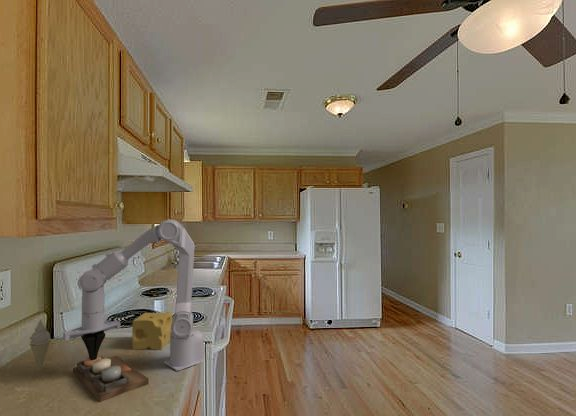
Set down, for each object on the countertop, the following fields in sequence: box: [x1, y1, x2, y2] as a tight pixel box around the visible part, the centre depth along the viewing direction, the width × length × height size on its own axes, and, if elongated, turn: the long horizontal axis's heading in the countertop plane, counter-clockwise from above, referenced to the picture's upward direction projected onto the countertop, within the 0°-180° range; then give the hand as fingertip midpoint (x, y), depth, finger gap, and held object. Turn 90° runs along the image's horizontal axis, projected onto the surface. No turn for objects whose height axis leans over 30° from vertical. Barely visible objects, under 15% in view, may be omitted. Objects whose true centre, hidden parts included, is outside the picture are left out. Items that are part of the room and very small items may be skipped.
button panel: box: [72, 355, 149, 402], centre depth 98 cm, size 12×22×3 cm, turn 46°
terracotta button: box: [83, 355, 103, 368], centre depth 101 cm, size 4×4×2 cm
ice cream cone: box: [29, 318, 52, 372], centre depth 103 cm, size 5×5×15 cm
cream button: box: [92, 358, 111, 373], centre depth 97 cm, size 4×4×2 cm
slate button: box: [102, 366, 121, 381], centre depth 92 cm, size 4×4×2 cm
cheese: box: [131, 311, 173, 351], centre depth 124 cm, size 10×11×10 cm
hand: (92, 358), depth 101 cm, fingers closed
